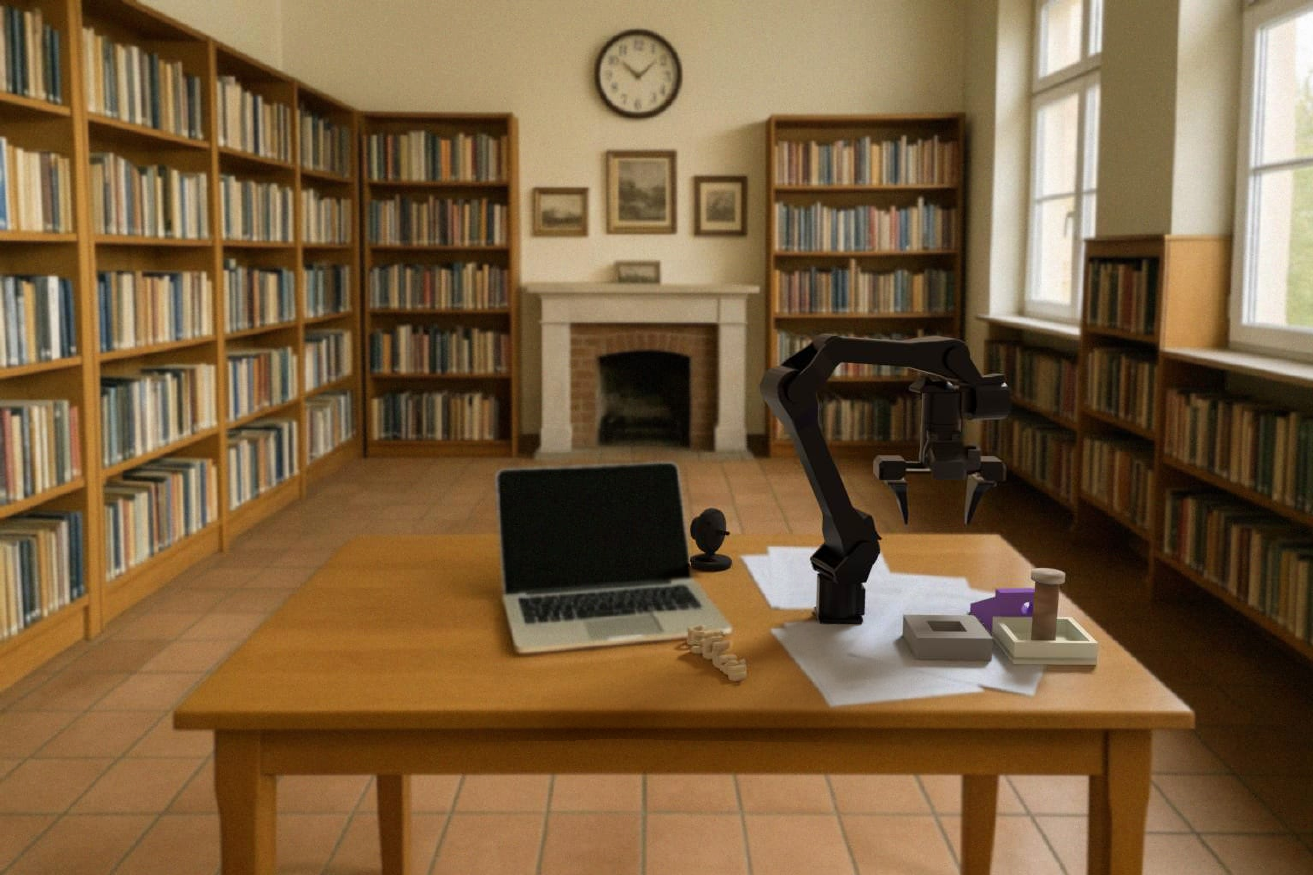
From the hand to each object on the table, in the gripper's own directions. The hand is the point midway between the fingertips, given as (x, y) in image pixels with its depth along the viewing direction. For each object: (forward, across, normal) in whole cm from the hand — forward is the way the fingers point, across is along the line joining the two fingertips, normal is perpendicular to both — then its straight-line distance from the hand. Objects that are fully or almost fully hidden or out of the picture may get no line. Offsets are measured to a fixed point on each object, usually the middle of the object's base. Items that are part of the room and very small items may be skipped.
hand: (936, 524), depth 184 cm
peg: (+12, +11, -19) cm, 25 cm away
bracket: (+14, +9, -7) cm, 18 cm away
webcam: (+13, -33, +23) cm, 42 cm away
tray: (+13, +11, -19) cm, 25 cm away
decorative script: (+14, -34, -24) cm, 44 cm away
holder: (+13, -2, -18) cm, 22 cm away
